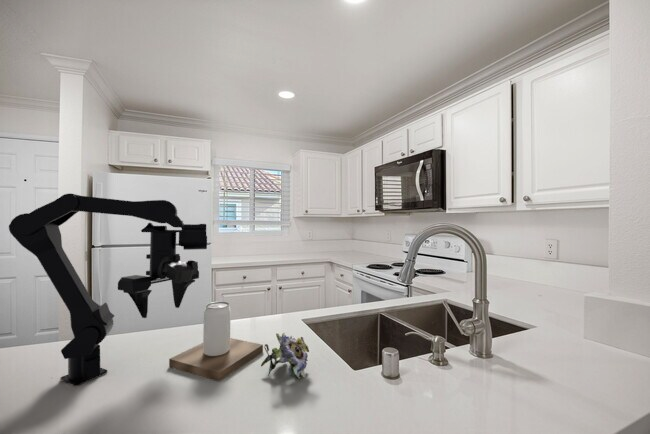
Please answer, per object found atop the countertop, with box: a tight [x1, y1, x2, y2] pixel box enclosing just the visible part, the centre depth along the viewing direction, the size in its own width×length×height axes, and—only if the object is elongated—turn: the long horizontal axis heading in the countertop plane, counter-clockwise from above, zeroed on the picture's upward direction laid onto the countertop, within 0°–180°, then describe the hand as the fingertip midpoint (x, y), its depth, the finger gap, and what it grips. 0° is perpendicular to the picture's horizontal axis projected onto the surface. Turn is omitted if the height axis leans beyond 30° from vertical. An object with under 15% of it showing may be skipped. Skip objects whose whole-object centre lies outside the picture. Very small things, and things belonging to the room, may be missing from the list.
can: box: [202, 301, 232, 357], centre depth 76 cm, size 6×6×12 cm
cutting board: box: [168, 337, 264, 382], centre depth 76 cm, size 16×16×2 cm
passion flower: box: [260, 332, 310, 381], centre depth 68 cm, size 11×11×12 cm
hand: (161, 312), depth 74 cm, fingers open, 9 cm apart
